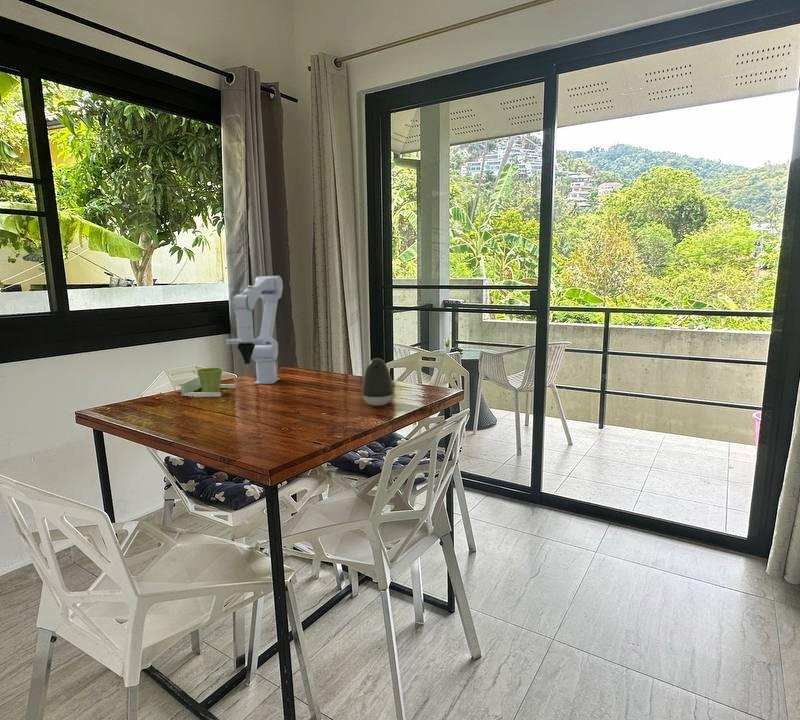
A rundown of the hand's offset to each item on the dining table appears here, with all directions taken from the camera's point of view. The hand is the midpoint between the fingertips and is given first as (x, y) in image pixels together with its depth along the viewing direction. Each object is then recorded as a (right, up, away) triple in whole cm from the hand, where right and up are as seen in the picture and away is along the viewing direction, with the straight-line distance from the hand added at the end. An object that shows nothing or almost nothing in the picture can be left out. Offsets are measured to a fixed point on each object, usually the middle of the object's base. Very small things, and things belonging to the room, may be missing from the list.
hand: (247, 363), depth 191 cm
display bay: (-13, -11, 0) cm, 17 cm away
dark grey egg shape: (+50, -13, -24) cm, 57 cm away
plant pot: (-13, -11, 0) cm, 17 cm away
